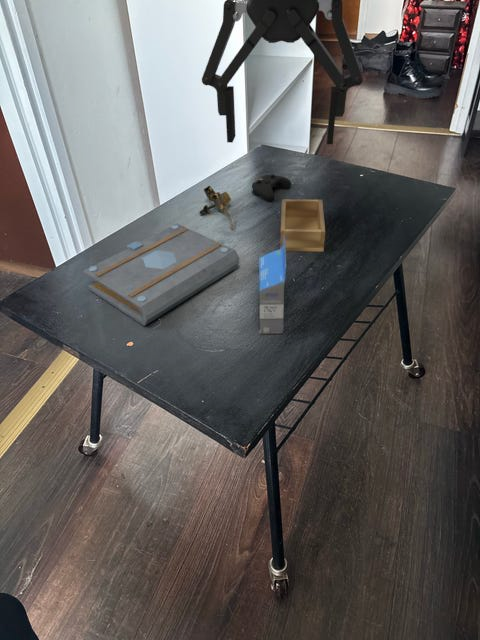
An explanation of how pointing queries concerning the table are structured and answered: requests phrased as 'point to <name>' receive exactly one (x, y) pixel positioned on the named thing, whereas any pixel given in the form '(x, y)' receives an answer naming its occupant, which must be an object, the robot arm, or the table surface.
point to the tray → (302, 225)
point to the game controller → (269, 186)
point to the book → (161, 272)
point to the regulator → (217, 202)
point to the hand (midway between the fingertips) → (279, 140)
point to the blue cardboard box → (272, 291)
